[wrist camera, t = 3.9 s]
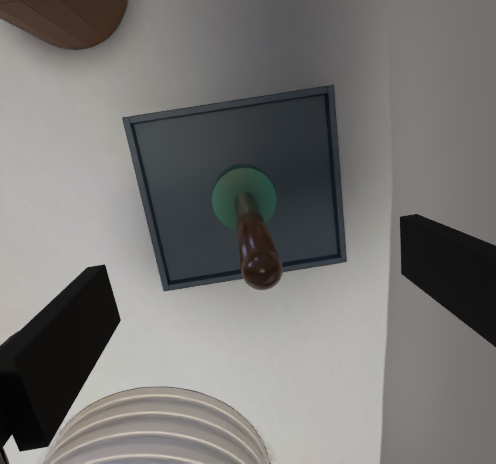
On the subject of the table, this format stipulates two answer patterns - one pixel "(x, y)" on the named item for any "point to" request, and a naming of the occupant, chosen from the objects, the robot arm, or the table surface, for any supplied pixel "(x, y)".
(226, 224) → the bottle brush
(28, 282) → the table surface
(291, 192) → the tray
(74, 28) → the wooden jar
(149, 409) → the plate stack
